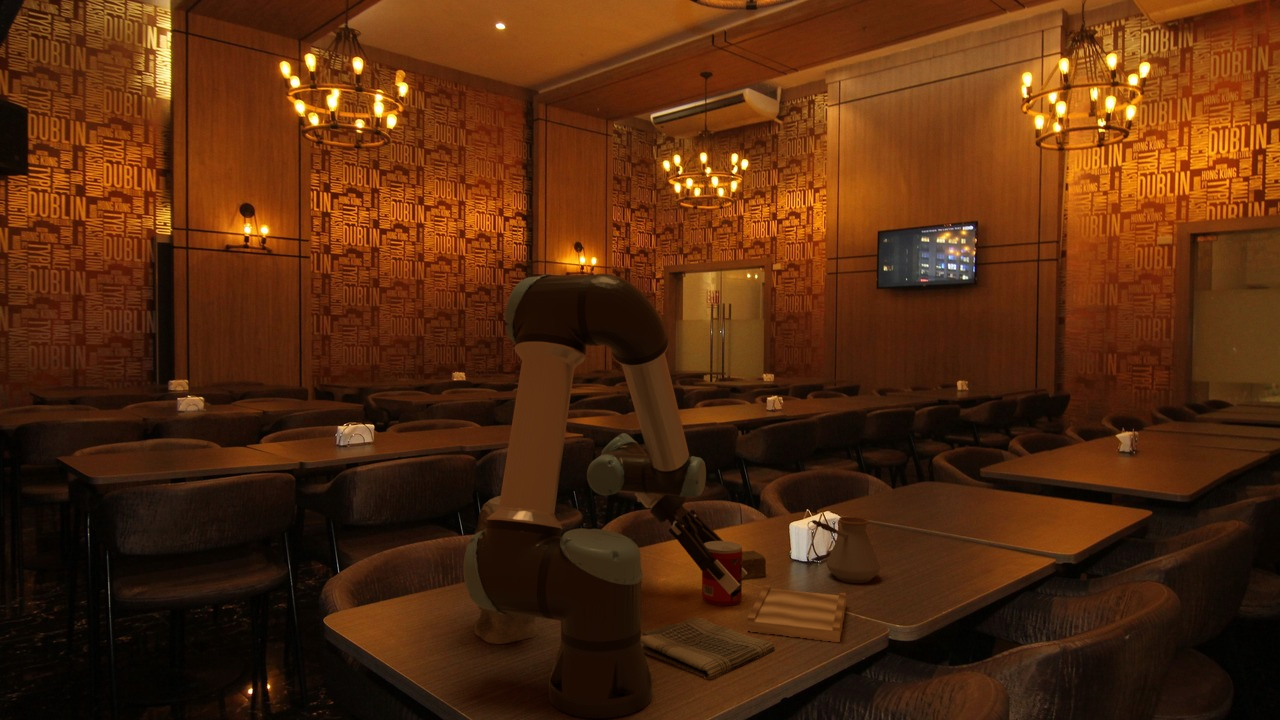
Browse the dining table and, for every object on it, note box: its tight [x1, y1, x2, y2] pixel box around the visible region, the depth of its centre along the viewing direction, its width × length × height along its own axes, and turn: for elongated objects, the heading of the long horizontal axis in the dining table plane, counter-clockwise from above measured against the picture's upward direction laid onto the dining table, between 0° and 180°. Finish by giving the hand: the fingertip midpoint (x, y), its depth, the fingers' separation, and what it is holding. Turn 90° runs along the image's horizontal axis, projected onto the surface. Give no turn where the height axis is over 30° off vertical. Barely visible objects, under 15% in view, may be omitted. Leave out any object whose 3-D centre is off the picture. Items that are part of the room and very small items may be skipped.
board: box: [746, 584, 847, 643], centre depth 147 cm, size 20×16×3 cm
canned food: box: [701, 540, 743, 606], centre depth 158 cm, size 8×8×11 cm
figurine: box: [474, 495, 539, 645], centre depth 139 cm, size 10×14×25 cm
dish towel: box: [641, 617, 776, 680], centre depth 132 cm, size 19×18×3 cm
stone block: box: [742, 550, 767, 580], centre depth 174 cm, size 6×12×5 cm, turn 110°
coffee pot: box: [807, 516, 881, 584], centre depth 170 cm, size 21×12×15 cm, turn 131°
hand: (738, 583), depth 157 cm, fingers closed on canned food, 8 cm apart
